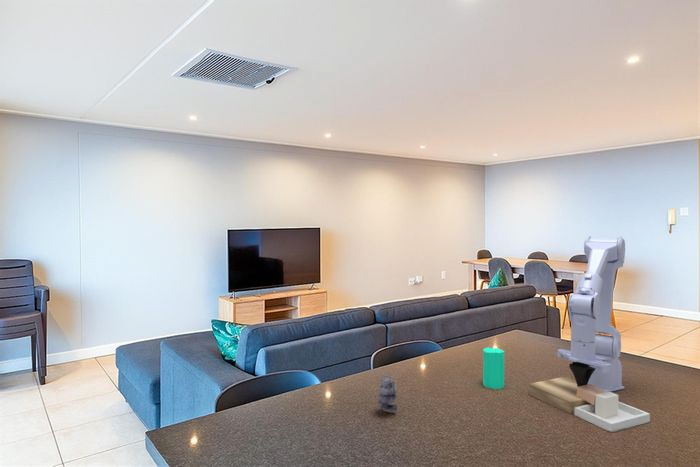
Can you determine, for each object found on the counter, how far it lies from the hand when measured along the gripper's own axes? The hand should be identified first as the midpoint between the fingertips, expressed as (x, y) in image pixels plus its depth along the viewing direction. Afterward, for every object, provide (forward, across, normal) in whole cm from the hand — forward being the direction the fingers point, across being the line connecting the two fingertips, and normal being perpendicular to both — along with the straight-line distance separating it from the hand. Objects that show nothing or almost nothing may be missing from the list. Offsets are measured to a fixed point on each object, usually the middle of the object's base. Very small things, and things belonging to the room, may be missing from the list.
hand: (582, 391), depth 119 cm
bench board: (+4, -5, 0) cm, 6 cm away
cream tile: (+1, +6, 0) cm, 6 cm away
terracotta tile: (+1, +3, 0) cm, 3 cm away
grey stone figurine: (+4, -17, -49) cm, 52 cm away
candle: (+4, -21, -11) cm, 24 cm away
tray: (+4, +8, 0) cm, 9 cm away
